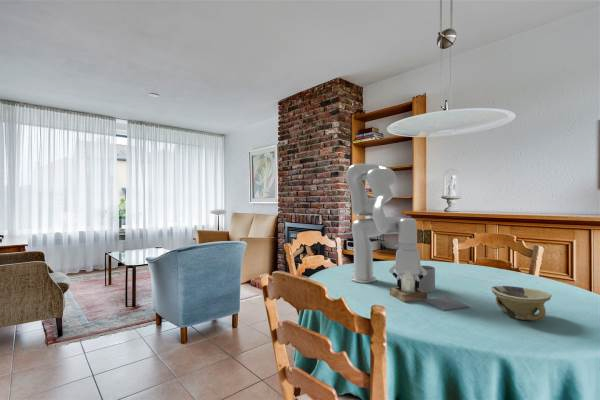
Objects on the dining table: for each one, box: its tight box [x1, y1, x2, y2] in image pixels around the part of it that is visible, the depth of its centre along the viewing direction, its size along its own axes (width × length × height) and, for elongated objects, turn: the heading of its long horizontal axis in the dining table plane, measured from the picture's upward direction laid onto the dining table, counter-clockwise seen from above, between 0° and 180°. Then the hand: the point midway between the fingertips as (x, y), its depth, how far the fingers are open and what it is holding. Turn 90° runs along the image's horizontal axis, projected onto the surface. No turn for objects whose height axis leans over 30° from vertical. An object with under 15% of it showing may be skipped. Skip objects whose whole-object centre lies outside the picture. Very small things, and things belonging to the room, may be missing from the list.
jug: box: [400, 271, 416, 294], centre depth 136 cm, size 8×6×12 cm
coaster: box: [422, 296, 470, 312], centre depth 127 cm, size 12×12×1 cm
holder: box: [389, 286, 428, 303], centre depth 137 cm, size 11×11×3 cm
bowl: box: [490, 285, 552, 322], centre depth 113 cm, size 18×18×10 cm
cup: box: [418, 265, 436, 293], centre depth 148 cm, size 8×8×10 cm
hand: (408, 288), depth 137 cm, fingers open, 6 cm apart
